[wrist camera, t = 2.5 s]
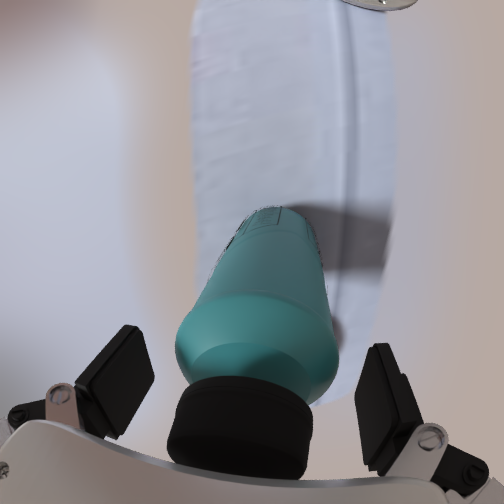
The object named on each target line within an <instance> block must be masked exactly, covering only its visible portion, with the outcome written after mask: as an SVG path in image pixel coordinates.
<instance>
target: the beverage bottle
mask: <svg viewBox="0 0 504 504" xmlns="http://www.w3.org/2000/svg"><path fill="white" fill-rule="evenodd" d="M267 207H268V206H267ZM260 209H261V208H260ZM256 211H257V210H256ZM252 213H253V212H252ZM246 219H247V218H246ZM246 219H245V220H246ZM245 220H244V221H245ZM244 221H243V222H242V224H243V223H244V224H243V225H242V224H241V225H240V227H241V226H242V227H241V228H240V227H239V228H238V230H239V229H240V230H239V232H238V233H237V234H236V235H235V236H234V237H235V238H234V237H233V239H232V240H230V241H231V242H230V243H229V245H228V244H227V245H228V246H226V247H227V248H226V247H225V248H226V252H225V251H224V252H225V254H224V255H223V257H222V258H221V260H219V259H220V258H219V259H218V260H219V261H220V262H219V263H218V265H217V267H216V266H215V267H216V269H215V270H214V272H213V275H212V276H211V278H210V280H209V279H208V280H209V282H207V285H206V287H205V288H204V290H203V292H202V293H201V295H200V297H199V299H198V300H197V302H196V304H195V305H194V307H193V309H192V311H190V312H189V314H188V315H187V316H186V317H185V318H184V320H183V322H182V324H181V325H180V327H179V330H178V332H177V335H176V342H175V353H176V358H177V362H178V364H179V367H180V369H181V371H182V373H183V375H184V377H185V378H186V380H187V381H188V383H189V384H190V386H189V387H187V388H186V389H185V391H184V392H183V394H182V396H181V398H180V400H179V403H178V405H177V408H176V413H175V419H174V422H173V425H172V428H171V431H170V434H169V437H168V440H167V451H168V454H169V456H170V457H171V459H172V460H173V461H174V462H175V463H176V464H180V465H184V466H188V467H193V468H197V469H202V470H207V471H213V472H218V473H224V474H231V475H238V476H246V477H255V478H266V479H281V480H299V479H300V478H301V477H302V476H303V474H304V472H305V470H306V468H307V460H308V454H309V445H310V440H311V437H312V432H313V415H312V412H311V409H310V407H309V406H308V405H310V404H311V403H313V402H314V401H316V400H317V399H318V398H320V397H321V396H322V395H323V394H324V393H325V392H326V391H327V390H328V388H329V387H330V385H331V384H332V382H333V380H334V378H335V376H336V374H337V370H338V367H339V351H338V345H337V342H336V339H335V336H334V331H333V325H332V320H331V314H330V309H329V304H328V299H327V294H326V289H325V281H324V274H323V270H322V265H321V261H320V257H321V256H322V255H321V256H320V257H319V254H320V253H319V252H320V251H319V252H318V247H317V245H316V244H318V242H316V241H315V240H316V239H317V238H316V239H315V237H316V235H315V234H316V233H314V232H313V231H312V229H311V227H312V226H311V227H310V225H311V224H310V225H309V223H308V222H307V221H306V218H305V219H304V218H303V217H302V216H301V215H299V214H298V213H296V212H294V211H292V210H289V209H286V208H282V206H281V207H270V208H265V209H264V207H263V209H262V210H260V211H257V212H255V213H254V214H253V215H251V216H250V217H249V218H248V219H247V220H246V221H245V222H244ZM312 228H313V227H312ZM238 230H236V232H237V231H238ZM313 233H314V234H313ZM234 234H235V233H234ZM314 236H315V237H314ZM318 245H319V244H318ZM219 257H221V255H220V256H219ZM321 259H322V258H321ZM218 260H217V262H218ZM212 269H213V268H212ZM327 288H328V285H327Z"/></svg>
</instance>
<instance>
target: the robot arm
mask: <svg viewBox="0 0 504 504" xmlns="http://www.w3.org/2000/svg"><path fill="white" fill-rule="evenodd" d="M342 1H345V2H348V3H350V4H353V5H356V6H360V7H364V8H368V9H374V10H383V11H393V10H401V9H405V8H408V7H410V6H411V5H413V4H414V3H416V2H417V0H342ZM154 377H155V375H154V372H153V369H152V365H151V362H150V358H149V355H148V351H147V348H146V344H145V340H144V336H143V333H142V331H141V330H139V328H138V327H137V326H132V325H124V326H123V327H122V328H121V329H120V330H119V332H118V333H117V334H116V335H115V336H114V337H113V338H112V339H111V340H110V342H109V343H108V344H107V345H106V346H105V347H104V348H103V350H102V351H101V352H100V353H99V354H98V355H97V356H96V357H95V359H94V360H93V361H92V362H91V363H90V364H89V366H88V367H87V368H86V369H85V371H83V373H82V374H81V375H80V376H79V377H78V378H77V380H76V381H75V384H76V385H75V386H74V387H73V386H72V385H70V384H68V383H59V384H55V385H54V386H52V387H51V388H50V389H49V390H48V391H47V393H46V399H43V400H39V401H34V402H30V403H25V404H20V405H17V406H15V407H14V408H12V409H11V410H10V412H9V414H8V419H6V417H3V418H1V419H0V504H504V486H503V485H502V484H501V483H500V482H498V481H497V480H496V479H495V478H494V477H493V478H492V479H490V478H489V477H488V476H489V469H488V466H487V464H486V463H485V462H484V461H483V460H481V459H479V458H477V457H475V456H473V455H470V454H468V453H466V452H464V451H462V450H460V449H457V448H456V447H454V446H451V445H449V444H448V434H447V432H446V431H445V429H444V428H443V427H441V426H440V425H438V424H435V423H425V424H424V422H423V419H422V417H421V413H420V410H419V408H418V405H417V402H416V399H415V397H414V394H413V391H412V389H411V386H410V383H409V381H408V378H407V376H406V375H405V374H404V373H403V374H401V373H400V370H399V367H398V365H397V362H396V360H395V357H394V355H393V352H392V350H391V348H390V345H389V344H388V343H375V344H374V345H373V347H369V349H368V352H367V356H366V359H365V363H364V366H363V369H362V373H361V376H360V379H359V382H358V385H357V388H356V391H355V406H356V412H357V418H358V425H359V431H360V438H361V446H362V453H363V461H364V465H368V469H369V471H377V474H378V475H379V476H380V477H369V478H354V479H340V480H281V479H266V478H255V477H246V476H238V475H231V474H224V473H218V472H213V471H207V470H202V469H197V468H193V467H188V466H184V465H180V464H176V463H172V462H168V461H165V460H161V459H157V458H154V457H151V456H148V455H145V454H141V453H139V452H136V451H132V450H130V449H127V448H124V447H121V446H119V445H116V444H114V443H111V442H108V441H106V440H104V438H105V436H107V437H110V438H112V439H115V440H117V439H118V437H119V436H120V435H123V434H124V432H125V431H126V429H127V427H128V425H129V424H130V422H131V420H132V418H133V417H134V415H135V413H136V411H137V409H138V408H139V406H140V404H141V402H142V401H143V399H144V397H145V396H146V394H147V392H148V391H149V389H150V387H151V385H152V384H153V382H154Z"/></svg>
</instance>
